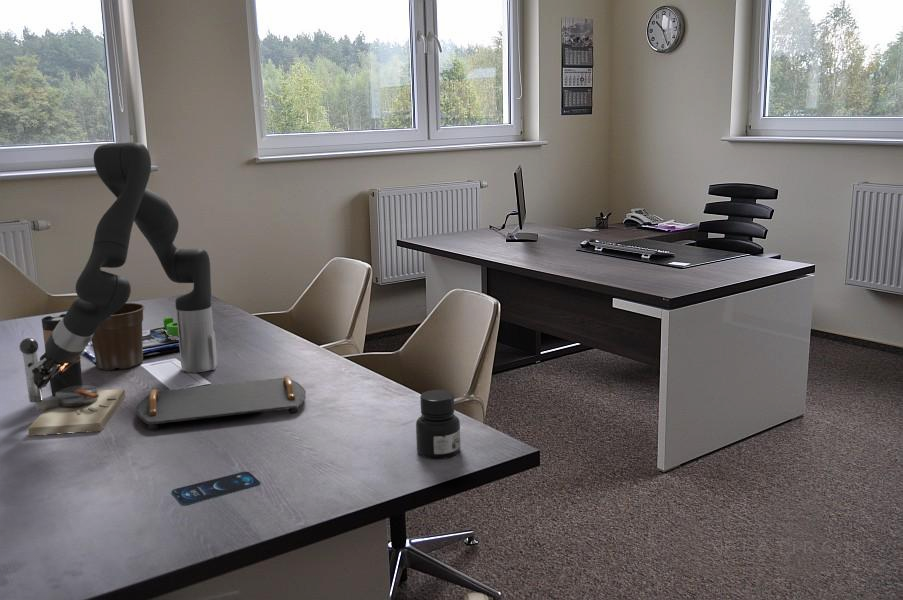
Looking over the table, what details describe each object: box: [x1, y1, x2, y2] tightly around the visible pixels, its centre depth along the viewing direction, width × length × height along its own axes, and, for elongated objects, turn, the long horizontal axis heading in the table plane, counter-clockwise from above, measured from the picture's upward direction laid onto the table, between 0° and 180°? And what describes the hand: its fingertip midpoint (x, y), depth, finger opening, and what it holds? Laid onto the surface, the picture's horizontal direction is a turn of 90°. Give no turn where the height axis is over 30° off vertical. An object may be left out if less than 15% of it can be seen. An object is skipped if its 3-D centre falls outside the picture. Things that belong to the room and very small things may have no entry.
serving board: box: [135, 375, 307, 431], centre depth 200 cm, size 39×23×6 cm, turn 106°
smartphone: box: [171, 471, 262, 506], centre depth 157 cm, size 8×1×15 cm
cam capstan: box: [19, 337, 99, 412], centre depth 195 cm, size 13×15×17 cm
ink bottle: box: [415, 389, 461, 459], centre depth 170 cm, size 10×9×12 cm
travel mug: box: [41, 313, 83, 397], centre depth 210 cm, size 8×8×20 cm
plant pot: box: [90, 302, 145, 371], centre depth 236 cm, size 16×16×16 cm
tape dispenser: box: [162, 316, 178, 336], centre depth 268 cm, size 15×7×5 cm, turn 25°
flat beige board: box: [27, 388, 126, 437], centre depth 197 cm, size 15×24×2 cm, turn 9°
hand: (39, 385), depth 192 cm, fingers closed
